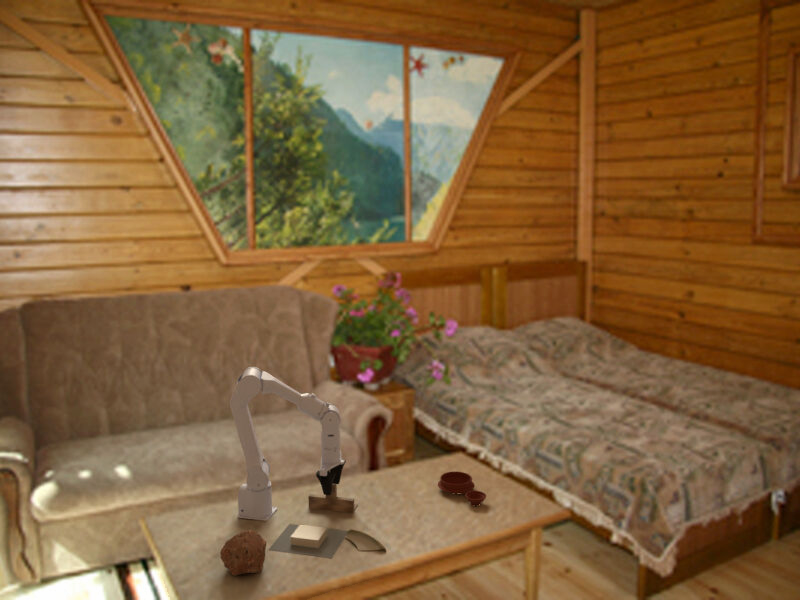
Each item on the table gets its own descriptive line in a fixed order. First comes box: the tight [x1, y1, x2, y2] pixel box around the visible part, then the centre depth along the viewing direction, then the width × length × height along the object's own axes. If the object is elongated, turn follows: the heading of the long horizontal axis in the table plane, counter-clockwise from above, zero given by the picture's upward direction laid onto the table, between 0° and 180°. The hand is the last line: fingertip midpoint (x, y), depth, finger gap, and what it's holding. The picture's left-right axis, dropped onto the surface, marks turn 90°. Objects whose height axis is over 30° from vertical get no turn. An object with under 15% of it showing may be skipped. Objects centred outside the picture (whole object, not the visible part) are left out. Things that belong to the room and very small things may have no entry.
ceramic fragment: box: [344, 528, 387, 552], centre depth 194 cm, size 14×5×4 cm, turn 52°
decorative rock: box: [219, 529, 267, 576], centre depth 182 cm, size 13×11×10 cm
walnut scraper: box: [307, 484, 359, 514], centre depth 217 cm, size 14×6×8 cm, turn 76°
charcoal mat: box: [268, 523, 348, 559], centre depth 197 cm, size 18×15×1 cm
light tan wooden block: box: [291, 524, 328, 549], centre depth 197 cm, size 8×2×7 cm
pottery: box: [437, 471, 487, 506], centre depth 225 cm, size 12×20×4 cm, turn 29°
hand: (331, 488), depth 214 cm, fingers open, 7 cm apart
